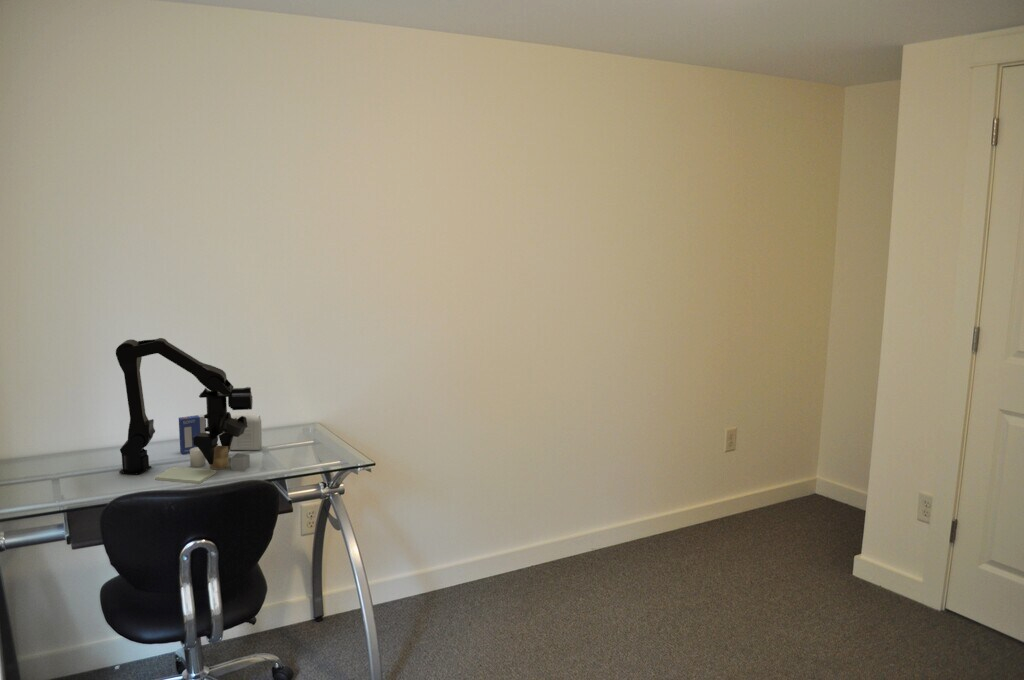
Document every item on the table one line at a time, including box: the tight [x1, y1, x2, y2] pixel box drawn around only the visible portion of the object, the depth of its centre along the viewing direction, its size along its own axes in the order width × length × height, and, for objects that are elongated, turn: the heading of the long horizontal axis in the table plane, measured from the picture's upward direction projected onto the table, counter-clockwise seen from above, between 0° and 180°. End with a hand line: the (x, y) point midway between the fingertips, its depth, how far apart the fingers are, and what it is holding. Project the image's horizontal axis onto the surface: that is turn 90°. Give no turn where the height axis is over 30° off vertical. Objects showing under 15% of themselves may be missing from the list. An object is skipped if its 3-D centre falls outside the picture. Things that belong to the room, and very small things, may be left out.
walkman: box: [178, 414, 207, 455], centre depth 244 cm, size 8×3×12 cm, turn 125°
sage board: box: [154, 466, 217, 484], centre depth 223 cm, size 14×9×1 cm, turn 82°
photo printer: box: [229, 412, 263, 451], centre depth 248 cm, size 10×4×12 cm, turn 98°
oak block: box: [209, 444, 230, 470], centre depth 232 cm, size 4×4×6 cm
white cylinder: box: [189, 447, 207, 468], centre depth 233 cm, size 4×4×5 cm
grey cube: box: [230, 453, 251, 472], centre depth 231 cm, size 4×4×4 cm
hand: (218, 459), depth 232 cm, fingers open, 9 cm apart
